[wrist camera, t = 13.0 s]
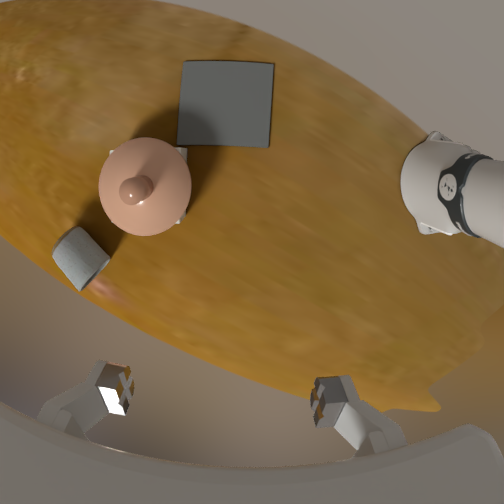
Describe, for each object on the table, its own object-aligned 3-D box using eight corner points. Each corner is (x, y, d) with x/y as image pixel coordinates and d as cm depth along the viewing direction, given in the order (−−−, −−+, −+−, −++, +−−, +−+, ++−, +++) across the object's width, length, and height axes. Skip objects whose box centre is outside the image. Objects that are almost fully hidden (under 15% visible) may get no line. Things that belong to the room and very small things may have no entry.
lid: (193, 136, 32) (187, 133, 28) (191, 235, 37) (185, 247, 32) (101, 141, 31) (84, 140, 27) (104, 233, 36) (88, 243, 31)
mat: (273, 65, 34) (273, 64, 33) (267, 147, 38) (268, 147, 38) (183, 62, 33) (183, 61, 32) (177, 144, 37) (176, 144, 37)
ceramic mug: (84, 217, 40) (59, 231, 32) (117, 252, 42) (97, 271, 35) (58, 258, 42) (34, 275, 35) (87, 289, 44) (68, 310, 37)
